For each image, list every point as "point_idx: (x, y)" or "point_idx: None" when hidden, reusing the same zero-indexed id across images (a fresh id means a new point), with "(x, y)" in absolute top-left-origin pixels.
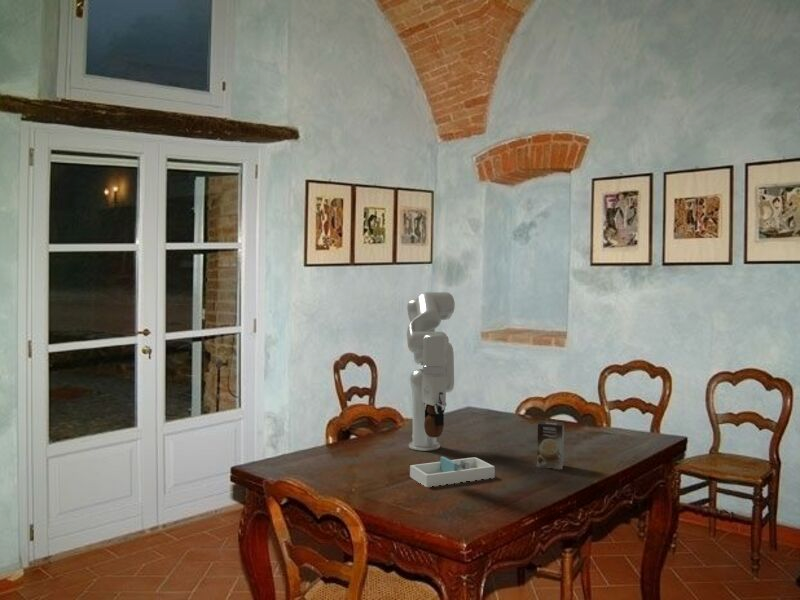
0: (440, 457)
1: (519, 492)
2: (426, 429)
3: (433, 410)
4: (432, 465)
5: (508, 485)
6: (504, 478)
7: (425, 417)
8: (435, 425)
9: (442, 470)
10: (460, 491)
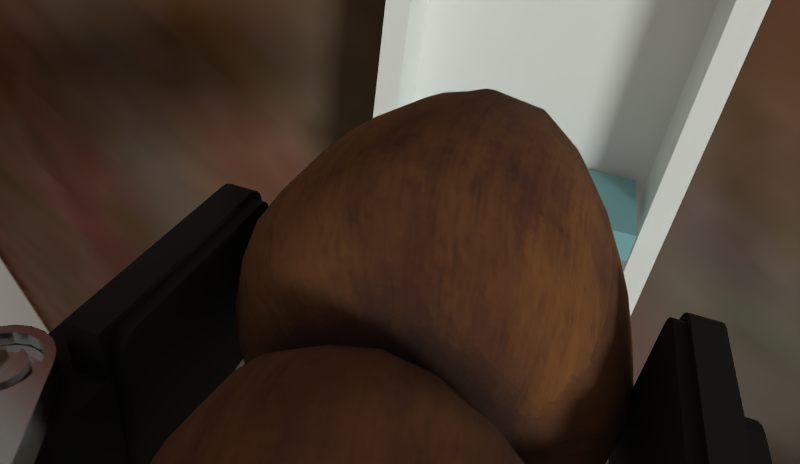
0: (634, 232)
1: (138, 249)
2: (461, 96)
3: (163, 444)
4: (673, 142)
5: None
6: None
7: (697, 368)
8: (231, 184)
9: (597, 174)
10: (252, 21)
